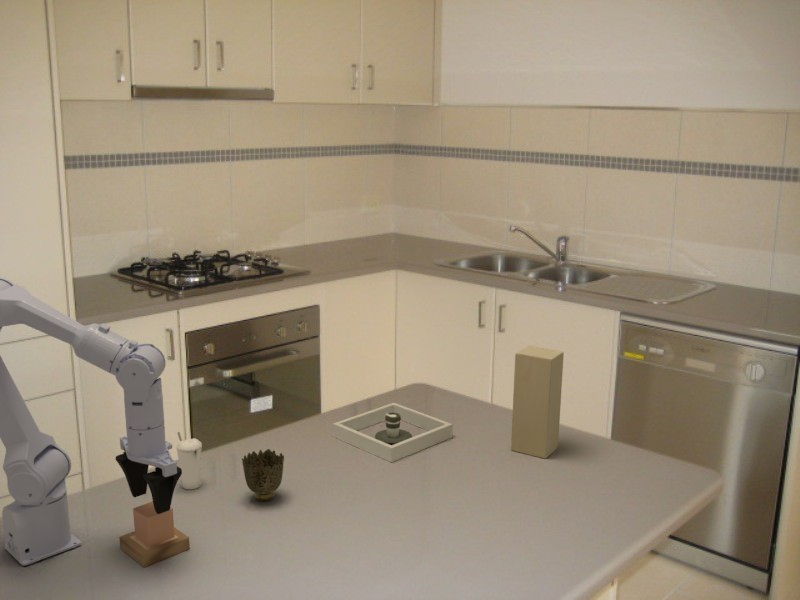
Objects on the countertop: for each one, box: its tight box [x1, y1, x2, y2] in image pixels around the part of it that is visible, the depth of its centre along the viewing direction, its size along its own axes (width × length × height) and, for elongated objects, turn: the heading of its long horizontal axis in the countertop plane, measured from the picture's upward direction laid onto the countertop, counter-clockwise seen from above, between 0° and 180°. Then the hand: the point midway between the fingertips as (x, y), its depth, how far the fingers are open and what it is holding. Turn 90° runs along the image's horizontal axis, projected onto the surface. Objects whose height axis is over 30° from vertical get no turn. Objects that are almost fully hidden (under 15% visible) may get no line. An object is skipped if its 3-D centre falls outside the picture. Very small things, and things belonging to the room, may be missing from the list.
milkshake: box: [176, 431, 203, 490], centre depth 158 cm, size 4×5×10 cm
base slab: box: [118, 526, 191, 568], centre depth 137 cm, size 8×8×2 cm
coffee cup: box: [375, 413, 412, 444], centre depth 181 cm, size 12×12×5 cm
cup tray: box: [332, 402, 454, 463], centre depth 181 cm, size 18×18×3 cm
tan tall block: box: [510, 345, 564, 459], centre depth 173 cm, size 8×7×21 cm
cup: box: [241, 448, 285, 502], centre depth 153 cm, size 8×7×8 cm
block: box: [132, 500, 175, 547], centre depth 137 cm, size 4×4×5 cm
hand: (150, 503), depth 136 cm, fingers open, 7 cm apart
